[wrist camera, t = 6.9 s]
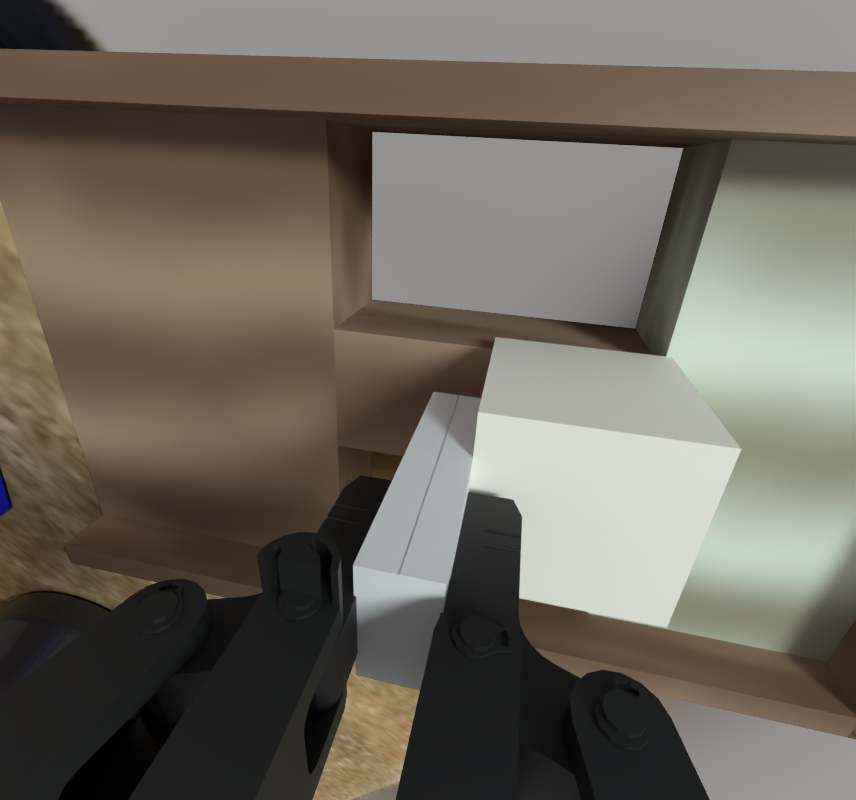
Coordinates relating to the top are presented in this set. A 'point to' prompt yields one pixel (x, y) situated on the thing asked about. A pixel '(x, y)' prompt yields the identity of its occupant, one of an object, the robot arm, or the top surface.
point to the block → (601, 473)
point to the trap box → (441, 323)
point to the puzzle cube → (3, 497)
